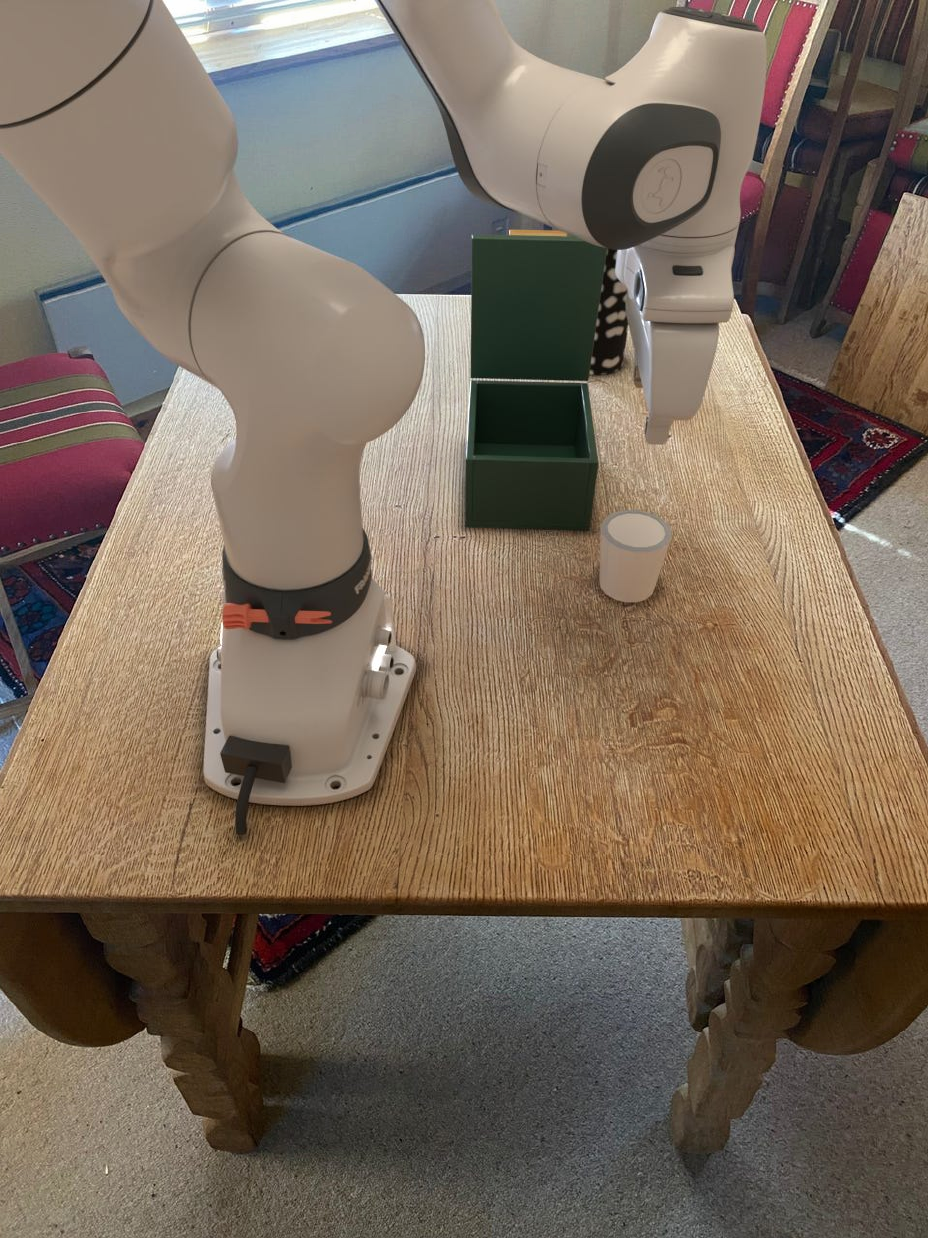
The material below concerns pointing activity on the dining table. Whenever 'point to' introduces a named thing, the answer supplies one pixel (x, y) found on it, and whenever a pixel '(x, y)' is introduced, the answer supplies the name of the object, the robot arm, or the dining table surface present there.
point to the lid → (534, 305)
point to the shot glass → (632, 554)
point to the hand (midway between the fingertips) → (648, 411)
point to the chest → (530, 456)
